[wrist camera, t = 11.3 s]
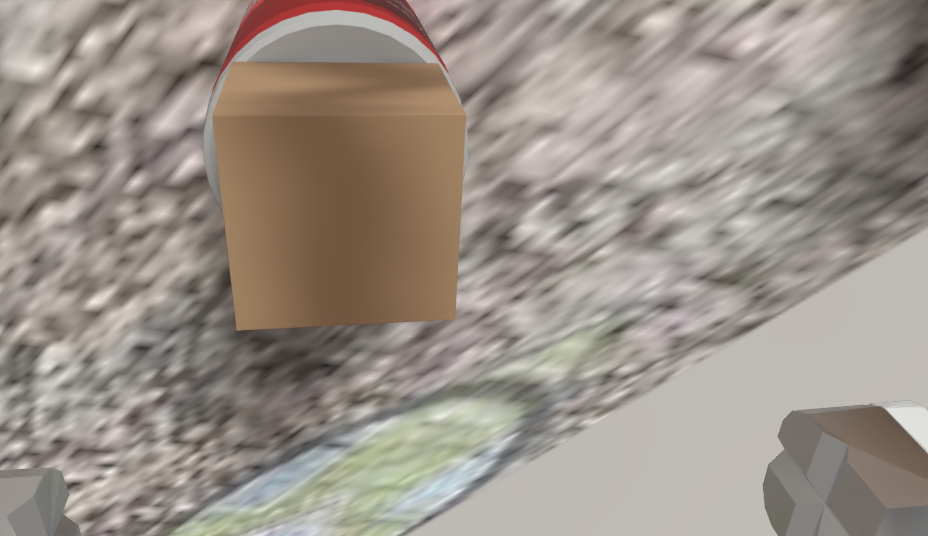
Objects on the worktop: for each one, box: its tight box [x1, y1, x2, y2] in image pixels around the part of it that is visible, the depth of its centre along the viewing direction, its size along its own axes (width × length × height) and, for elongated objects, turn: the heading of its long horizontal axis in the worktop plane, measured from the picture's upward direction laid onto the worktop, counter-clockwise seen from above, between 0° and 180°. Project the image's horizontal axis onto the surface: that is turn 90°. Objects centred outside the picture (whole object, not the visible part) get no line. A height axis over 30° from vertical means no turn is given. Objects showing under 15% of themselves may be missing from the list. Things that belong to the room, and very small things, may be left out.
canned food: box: [204, 0, 468, 212], centre depth 26 cm, size 8×8×11 cm
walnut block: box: [212, 62, 466, 330], centre depth 20 cm, size 6×6×4 cm
